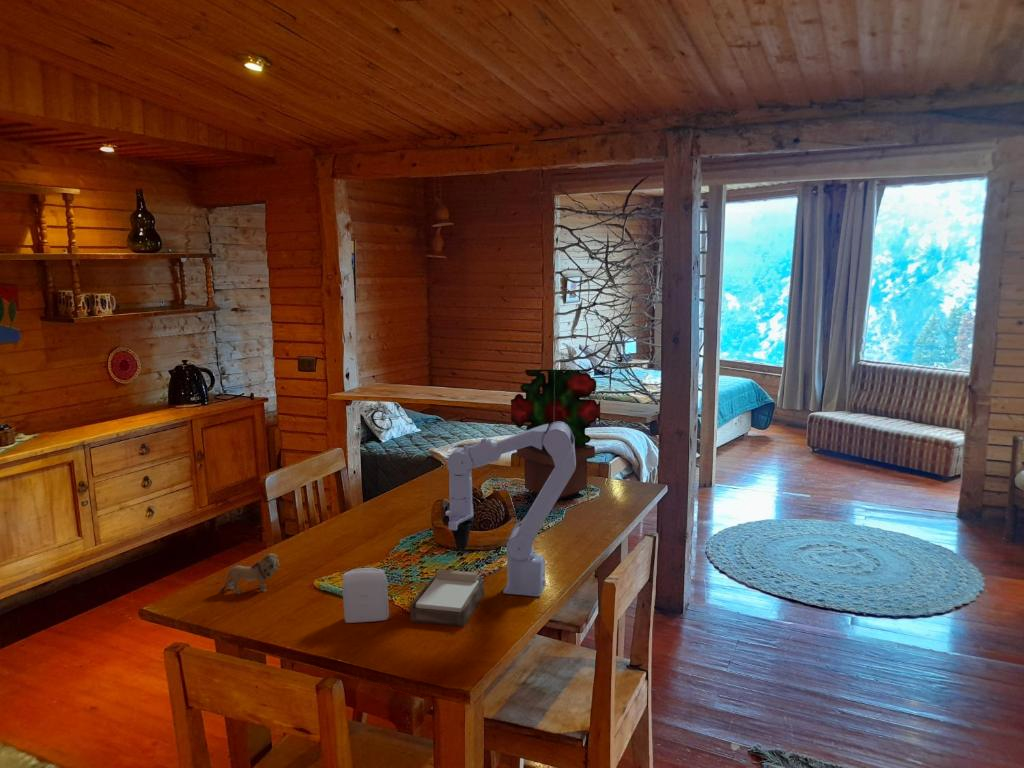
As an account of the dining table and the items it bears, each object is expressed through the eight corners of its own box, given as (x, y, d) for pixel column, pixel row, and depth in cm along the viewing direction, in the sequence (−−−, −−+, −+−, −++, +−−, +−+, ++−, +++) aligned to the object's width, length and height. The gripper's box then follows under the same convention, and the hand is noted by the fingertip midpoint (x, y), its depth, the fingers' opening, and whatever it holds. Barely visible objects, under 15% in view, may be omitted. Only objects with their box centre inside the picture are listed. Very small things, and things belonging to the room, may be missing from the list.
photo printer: (343, 624, 168) (340, 574, 166) (345, 616, 172) (342, 566, 170) (388, 622, 169) (386, 571, 167) (389, 613, 173) (387, 564, 171)
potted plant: (557, 481, 276) (556, 363, 269) (599, 494, 259) (600, 369, 252) (512, 493, 262) (510, 369, 255) (554, 508, 246) (553, 376, 238)
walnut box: (435, 589, 185) (434, 574, 184) (484, 594, 182) (484, 579, 181) (410, 621, 169) (409, 605, 168) (464, 626, 166) (463, 610, 165)
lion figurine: (281, 581, 191) (278, 549, 190) (280, 590, 186) (278, 557, 185) (221, 589, 187) (218, 556, 186) (219, 598, 182) (216, 564, 181)
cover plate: (437, 580, 183) (436, 569, 183) (479, 584, 181) (478, 572, 180) (415, 607, 169) (415, 595, 168) (461, 612, 166) (460, 599, 166)
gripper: (454, 486, 191) (455, 535, 193) (436, 504, 177) (437, 557, 179) (480, 488, 189) (481, 538, 191) (464, 506, 175) (465, 559, 178)
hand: (461, 547), depth 185 cm, fingers closed
